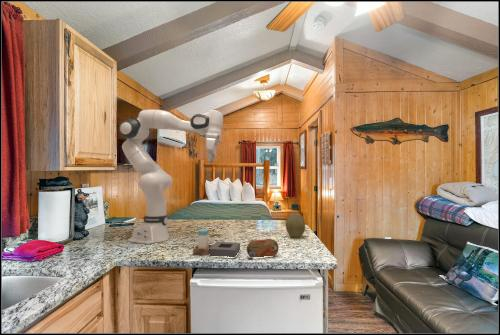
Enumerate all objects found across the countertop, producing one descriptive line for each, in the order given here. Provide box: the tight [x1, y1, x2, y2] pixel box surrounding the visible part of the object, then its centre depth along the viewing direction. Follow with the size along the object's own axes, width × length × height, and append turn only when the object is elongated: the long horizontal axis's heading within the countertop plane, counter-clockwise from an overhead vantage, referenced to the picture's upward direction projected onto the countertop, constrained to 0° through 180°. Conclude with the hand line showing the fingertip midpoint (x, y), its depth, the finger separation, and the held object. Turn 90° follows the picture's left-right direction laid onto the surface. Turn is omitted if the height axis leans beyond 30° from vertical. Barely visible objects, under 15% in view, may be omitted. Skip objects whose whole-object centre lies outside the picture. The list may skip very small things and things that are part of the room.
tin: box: [246, 238, 279, 258], centre depth 117 cm, size 15×3×8 cm, turn 106°
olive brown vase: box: [285, 211, 306, 239], centre depth 152 cm, size 11×11×15 cm
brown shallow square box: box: [192, 244, 214, 256], centre depth 123 cm, size 8×8×3 cm
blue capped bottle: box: [197, 228, 210, 249], centre depth 123 cm, size 4×4×11 cm
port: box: [209, 241, 241, 257], centre depth 121 cm, size 12×12×4 cm
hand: (210, 162), depth 141 cm, fingers open, 8 cm apart
